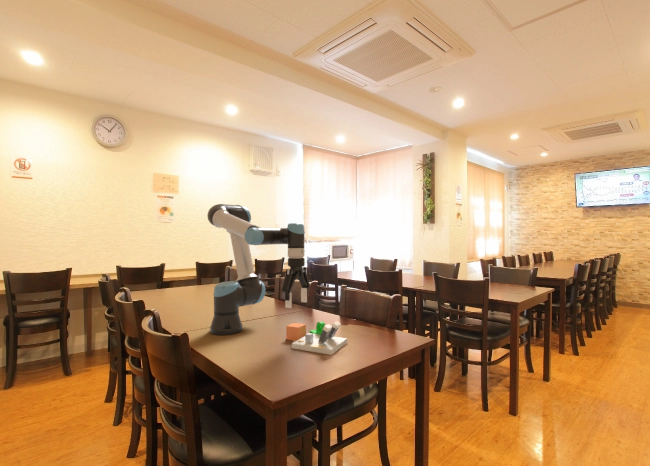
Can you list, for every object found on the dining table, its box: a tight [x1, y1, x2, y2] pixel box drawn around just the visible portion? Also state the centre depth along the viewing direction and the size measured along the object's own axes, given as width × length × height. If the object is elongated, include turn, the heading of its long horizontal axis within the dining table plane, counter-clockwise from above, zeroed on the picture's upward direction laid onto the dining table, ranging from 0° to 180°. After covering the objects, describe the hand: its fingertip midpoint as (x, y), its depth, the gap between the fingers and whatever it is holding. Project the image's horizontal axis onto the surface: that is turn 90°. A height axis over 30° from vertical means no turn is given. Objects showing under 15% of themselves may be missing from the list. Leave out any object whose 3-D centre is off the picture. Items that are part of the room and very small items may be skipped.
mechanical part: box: [309, 321, 326, 335], centre depth 156 cm, size 12×6×8 cm, turn 30°
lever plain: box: [327, 320, 341, 340], centre depth 144 cm, size 2×4×8 cm, turn 154°
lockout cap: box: [285, 322, 307, 342], centre depth 153 cm, size 6×6×6 cm
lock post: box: [305, 332, 313, 344], centre depth 141 cm, size 2×2×4 cm
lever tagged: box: [318, 323, 332, 345], centre depth 138 cm, size 2×4×8 cm, turn 154°
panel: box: [291, 333, 348, 356], centre depth 143 cm, size 18×17×2 cm
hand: (296, 304), depth 153 cm, fingers open, 13 cm apart
